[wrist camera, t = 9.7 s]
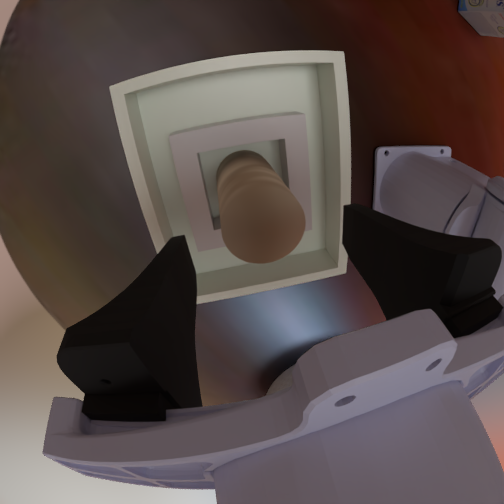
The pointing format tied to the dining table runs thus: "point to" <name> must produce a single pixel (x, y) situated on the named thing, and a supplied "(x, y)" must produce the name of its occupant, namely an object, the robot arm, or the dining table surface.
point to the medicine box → (484, 16)
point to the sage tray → (235, 139)
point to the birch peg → (257, 209)
